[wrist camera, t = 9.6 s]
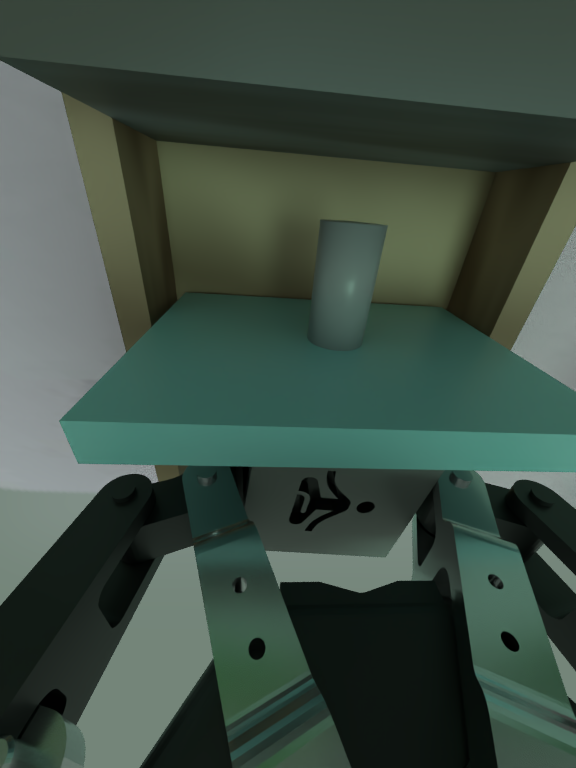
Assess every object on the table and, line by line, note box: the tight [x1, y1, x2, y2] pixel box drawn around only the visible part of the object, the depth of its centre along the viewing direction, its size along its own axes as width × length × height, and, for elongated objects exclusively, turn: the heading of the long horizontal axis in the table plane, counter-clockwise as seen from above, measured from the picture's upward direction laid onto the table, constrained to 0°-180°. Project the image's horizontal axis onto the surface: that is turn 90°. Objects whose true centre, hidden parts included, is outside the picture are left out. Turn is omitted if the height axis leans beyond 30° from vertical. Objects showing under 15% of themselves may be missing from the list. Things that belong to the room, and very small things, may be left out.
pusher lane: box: [0, 0, 576, 482], centre depth 10 cm, size 16×14×7 cm
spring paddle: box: [59, 219, 576, 472], centre depth 8 cm, size 4×11×8 cm, turn 86°
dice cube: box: [243, 466, 445, 557], centre depth 10 cm, size 5×5×5 cm
